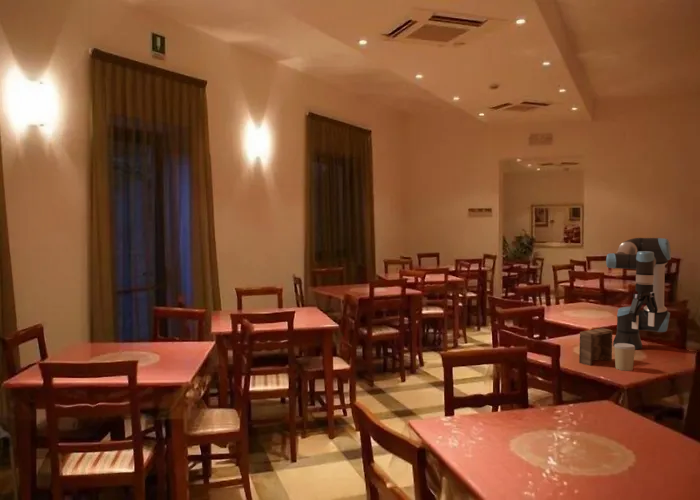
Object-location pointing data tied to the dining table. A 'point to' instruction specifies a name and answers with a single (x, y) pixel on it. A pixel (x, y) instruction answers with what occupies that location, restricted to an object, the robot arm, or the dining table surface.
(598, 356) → the cubby
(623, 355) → the coffee cup
